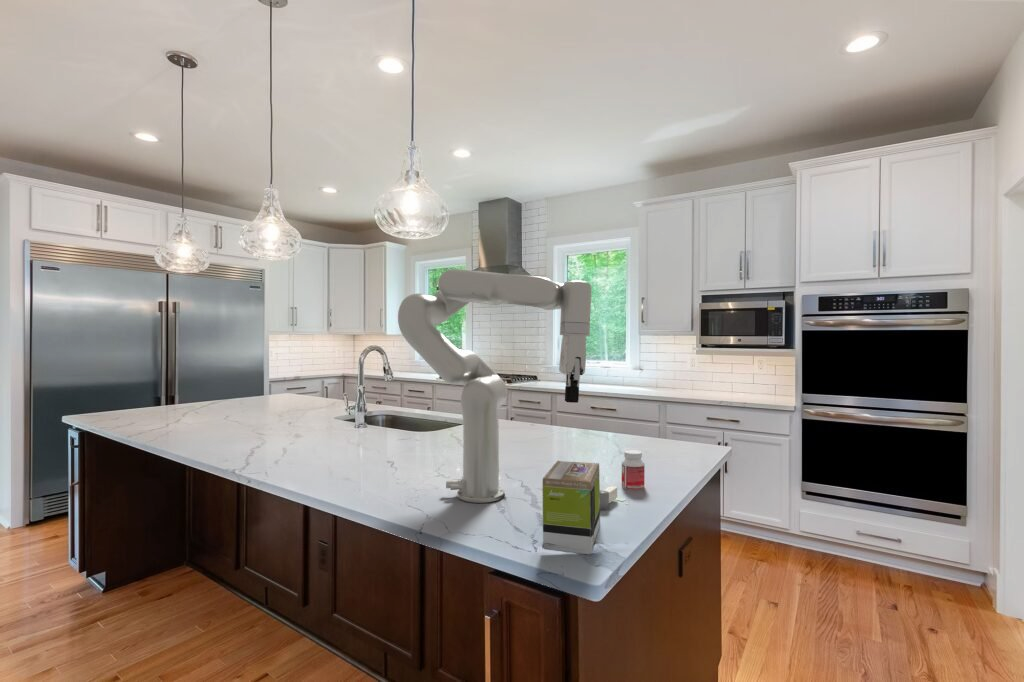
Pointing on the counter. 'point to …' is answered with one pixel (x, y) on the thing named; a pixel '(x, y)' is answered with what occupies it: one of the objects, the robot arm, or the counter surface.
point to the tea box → (571, 507)
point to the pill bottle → (633, 470)
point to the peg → (607, 497)
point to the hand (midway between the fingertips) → (571, 401)
